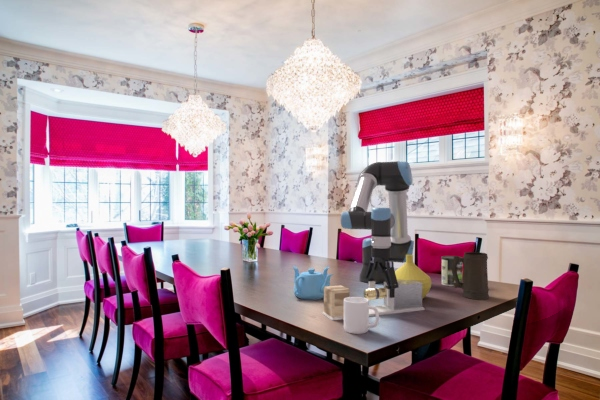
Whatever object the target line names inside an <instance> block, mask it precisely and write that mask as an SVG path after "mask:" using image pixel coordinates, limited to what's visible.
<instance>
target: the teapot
mask: <svg viewBox="0 0 600 400" xmlns="http://www.w3.org/2000/svg"><path fill="white" fill-rule="evenodd" d="M292 267H293V270H294V278H293V281H294V282H293V283H294V286H293V295H295V296H296V297H297V298H299V299H302V300H309V301H310V300H314V301H315V300H321V299H322V300H323V299H324V287H326V286H331V278H332V276H333V275H334V273H331V274H330V273H329V274H328V270H329V268H330V266H326V267H325V268H324V269H323V271H322V272H319V271H315V268H308V269H307V271H302V272H301V273H300V272H299V269H298V267H297V266H295V265H293V266H292Z"/></svg>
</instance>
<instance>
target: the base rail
mask: <svg viewBox="0 0 600 400" xmlns="http://www.w3.org/2000/svg"><path fill="white" fill-rule="evenodd" d="M374 306H375V307H376V308H377V310H378V312H379V316H383V315H393V314H401V313H403V314H404V313H411V312H412V313H413V312H419V311H425V307H423V306H422V308H412V309H403V310H394V311H393V310H391V309H389V308H387V307H385V306H384V304H382V305H374ZM321 314H322V315H323V316H325V317H326V318H328V319H329V320H330V321H340V320H344V316H340V317H330V316H329V315H327V314H326V313H324V310H323V311H321ZM374 316H375V317H376V314H375V311H374V310H373V309H369V317H374Z"/></svg>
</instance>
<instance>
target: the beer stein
mask: <svg viewBox="0 0 600 400" xmlns="http://www.w3.org/2000/svg"><path fill="white" fill-rule="evenodd" d="M453 256H454V261H453V263H452V274H453V277H454V279H455V284H454V286H453V287H454V289H457V288H460V289H462V290H463V291H462V296H463V297H464V298H466V299H471V300H484V301H485V300H487V299H489V298H490V296H489V282H488V281H489V280H488V279H489V277H488V275H489V274H488V259H489V257H488V253H485V252H478V251H467V252H464V254H463V257H462V258H461V256H458V255H453ZM458 262H462V265H463V269H462V283H460V281H459V278H458V275H457V270H456V267H457V263H458Z"/></svg>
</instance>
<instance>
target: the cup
mask: <svg viewBox="0 0 600 400" xmlns="http://www.w3.org/2000/svg"><path fill="white" fill-rule="evenodd" d="M369 302H370V300H368V299H367V298H364V296H363V297H362V296H349V297H347V298H344V319H343V330H344V331H345V332H346V333H349V334H354V335H355V334H356V335H362V334H366V333H368V331H369V329H370V328H371V329H372V328H373V329H374V328H375V327H377V326H378V325H379V321H380V315H379V312H378V310H377V308H376V307H375V306H376V305H371V304H370V303H369ZM369 309H373V310H374V311H375V314H376V316H375V321H374V323H370V322H369V321H370V318H369V317H370V316H369Z"/></svg>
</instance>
